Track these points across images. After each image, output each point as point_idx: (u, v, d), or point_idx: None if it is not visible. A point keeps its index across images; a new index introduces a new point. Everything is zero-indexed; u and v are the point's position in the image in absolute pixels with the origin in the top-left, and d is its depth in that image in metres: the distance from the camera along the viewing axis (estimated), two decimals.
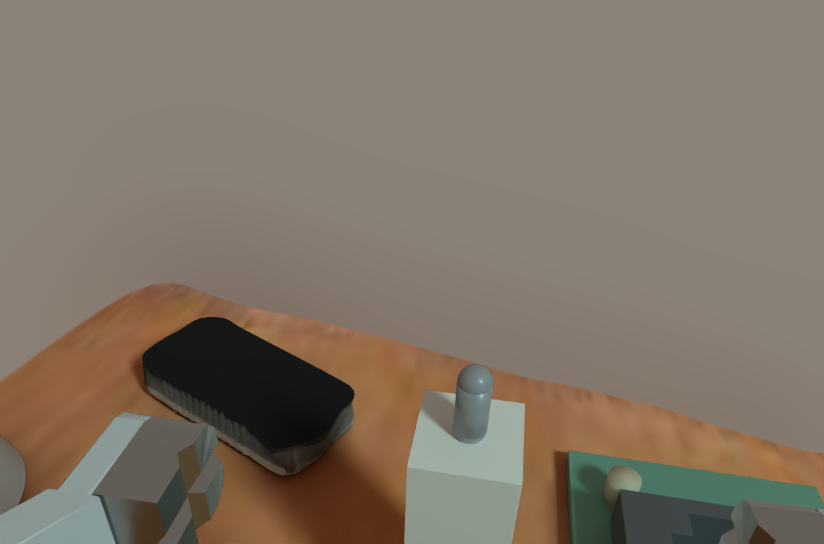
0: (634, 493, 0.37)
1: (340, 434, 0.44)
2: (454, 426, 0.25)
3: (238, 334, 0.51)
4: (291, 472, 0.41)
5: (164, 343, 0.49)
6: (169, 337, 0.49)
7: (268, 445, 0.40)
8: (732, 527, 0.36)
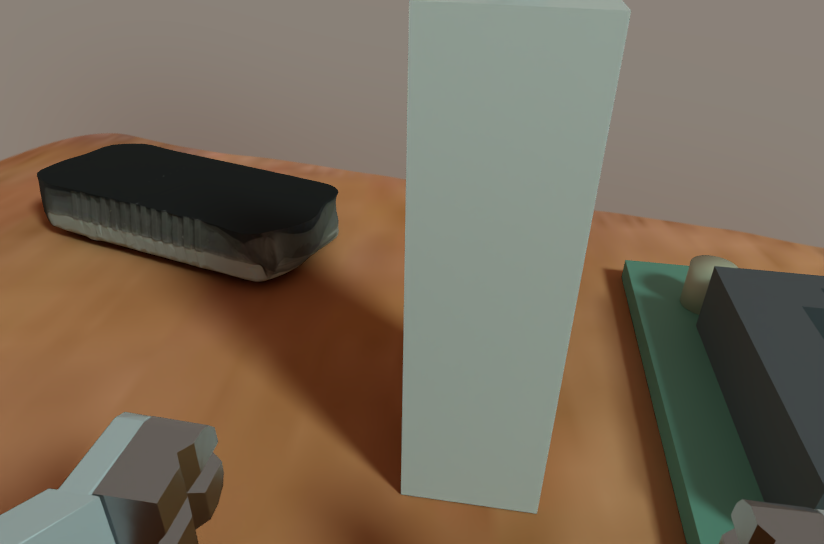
0: (736, 269, 0.26)
1: (326, 238, 0.34)
2: None
3: (168, 154, 0.39)
4: (272, 272, 0.30)
5: (67, 163, 0.36)
6: (72, 159, 0.37)
7: (238, 232, 0.29)
8: None
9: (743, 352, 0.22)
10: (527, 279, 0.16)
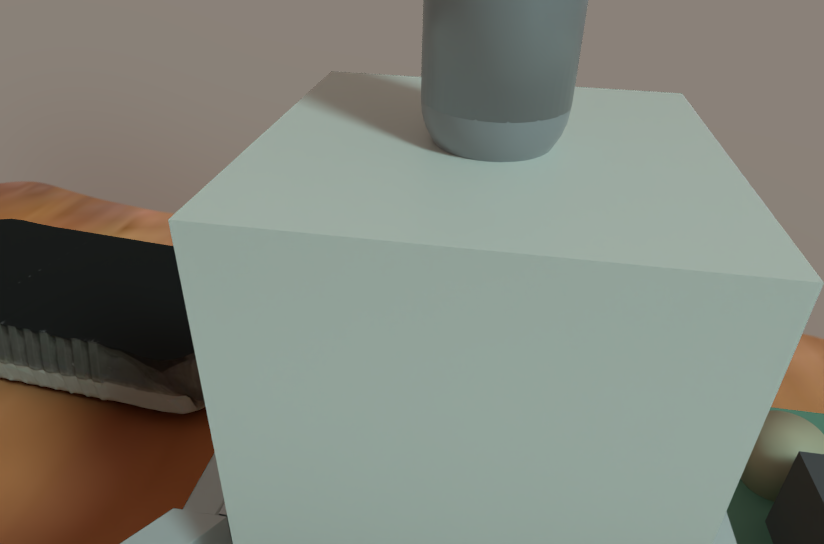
0: None
1: None
2: (425, 82, 0.06)
3: (44, 233, 0.30)
4: (204, 401, 0.23)
5: None
6: None
7: (152, 357, 0.21)
8: None
9: None
10: None
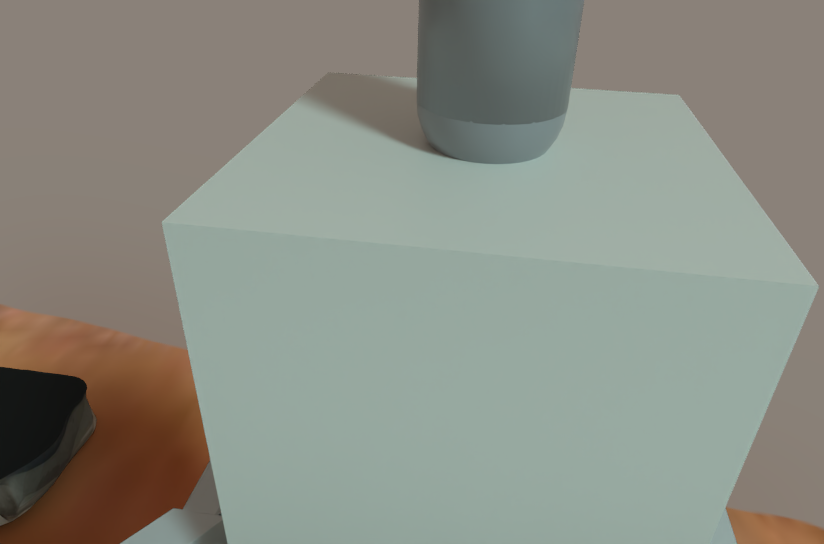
0: None
1: (79, 443, 0.32)
2: (421, 84, 0.06)
3: None
4: (13, 516, 0.28)
5: None
6: None
7: None
8: None
9: None
10: None
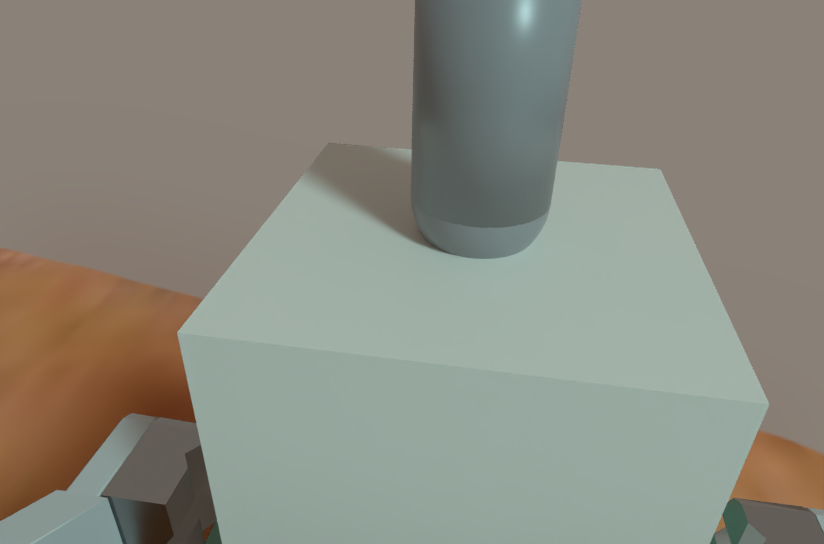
0: None
1: None
2: (414, 184, 0.06)
3: None
4: None
5: None
6: None
7: None
8: None
9: None
10: None
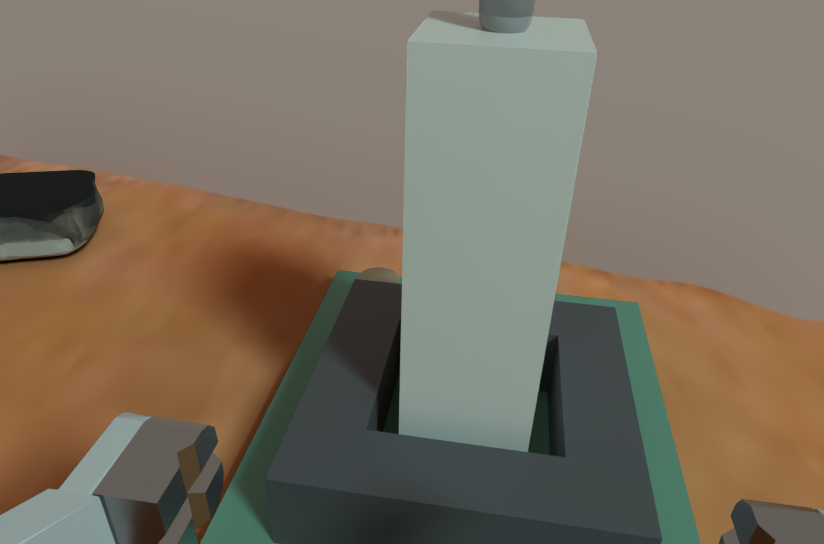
0: (371, 282, 0.28)
1: (100, 212, 0.40)
2: (481, 5, 0.16)
3: None
4: (79, 241, 0.36)
5: None
6: None
7: (41, 214, 0.35)
8: None
9: None
10: (511, 282, 0.18)
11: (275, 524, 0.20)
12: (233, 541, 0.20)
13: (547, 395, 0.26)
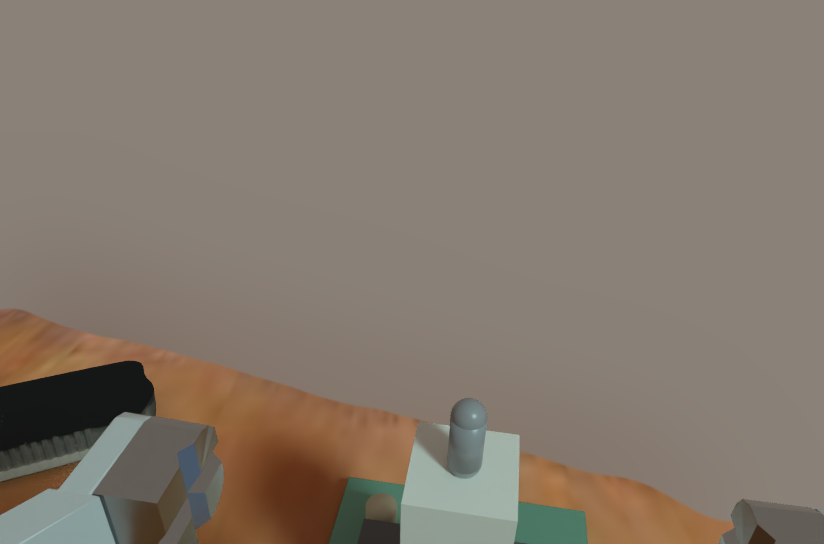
0: (376, 523, 0.37)
1: None
2: (448, 460, 0.25)
3: None
4: None
5: None
6: None
7: None
8: None
9: None
10: None
11: None
12: None
13: None
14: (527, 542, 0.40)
